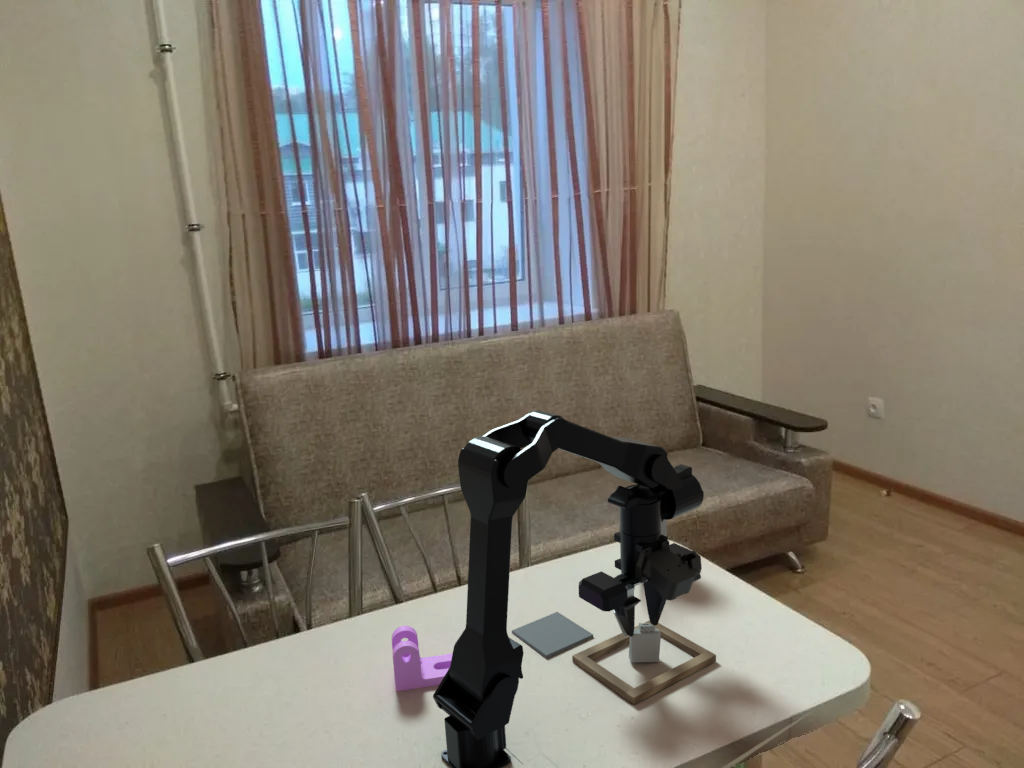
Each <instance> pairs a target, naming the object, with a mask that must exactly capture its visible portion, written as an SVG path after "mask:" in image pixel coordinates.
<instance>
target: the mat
mask: <svg viewBox="0 0 1024 768" xmlns="http://www.w3.org/2000/svg"><path fill="white" fill-rule="evenodd" d="M511 633H512V634H513V635H515V637H517V638H518V639H520V640H521V641H522V642H524V643H525V644H526V645H527V646H528V647H530V648H532V649H533V650H534V651H536V652H537V653H539V655H540V656H541V657H544V658H545V659H548V658H551V657H554V656H555V655H557V654H560V653H562V652H564V651H566V650H569V649H570V648H573V647H576V646H577V645H579V644H582V643H583V642H587V641H588V640H590V639H592V638H594V634H593V633H591V632H590V631H588V630H587V629H585V628H584V627H582V626H581V625H579V624H577V623H576V622H574V621H573V620H571V619H570V618H568V617H566V616H565V615H563V614H562V613H560V612H558V611H556V612H553V613H551V614H549V615H545V616H543V617H541V618H539V619H536V620H534V621H532V622H529V623H526V624H524V625H522V626H519V627H517V628H514V629H512V630H511Z"/></svg>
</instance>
